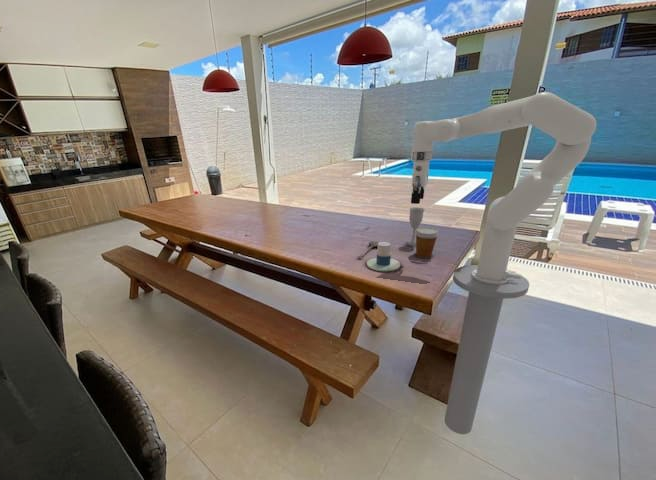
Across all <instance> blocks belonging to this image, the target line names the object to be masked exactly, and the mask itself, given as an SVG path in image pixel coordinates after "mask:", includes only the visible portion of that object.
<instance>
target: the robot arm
mask: <svg viewBox="0 0 656 480" xmlns="http://www.w3.org/2000/svg"><path fill="white" fill-rule="evenodd" d="M530 126H533V127H535V128H536V129H538V130H540V131H541V132H543V133H545V134H546V135H548V136H549V137H552V138H553V139H555V145H554V146H553V148H552V150H551V151H550V152H549V153H548V154H547V155H545V157H544V158H543V159H541V161H540V162H538V163H537V164H536V165H535V166H534V167H533V168H532V169H530V170H529V171H528V172H527V173H526V174H525V175H523V176H521V177H520V179H518V181H517V182H516V186H514V188H513V189H511V190H510V191H509V192H508V193H507V194H506V195H504V196H499V197H498V198H496V199H494V200H493V201H492V202H491V203H490V205H489V207H488V210H487V217H486V223H485V229H484V233H483V237H482V242H481V246H480V247H481V248H480V253H479V257H478V262H477V263H478V264H477V265H478V267H477V270H474V271H473V272H472V277H473V278H474V279H475V280H477V281H480V282H483V283H486V284H493V285H501V284H506V283H508V282H509V278H510V277H511V278H516V279H520V276H522V274H521V273H518V272H517V271H514V270H510V269H508V265H509V261H510V256H511V252H512V248H513V244H514V240H515V236H516V232H517V228H518V225H519V224H520V223H522V222H523V221H524V220H525V219H527V218H528V217H530V215H532V214H533V213H535V212H536V211H537V210H538V209H539V208H541V207H542V206H543V205H544V204H545V203H547V202H548V200H549V199H550V198H551V197H552V195H553V193H554V189H555V188H554V187H555V186H556V185H558V183H560V182H561V181H562V180H563V179H565V178H566V177H567V176H568V175H569V174H571V172H573V170H575V169H576V168H577V167H578V166H579V165H580V164H581V163H582V162H583V160H584V159H585V158H586V156H587V154H588V151H589V149H590V146H591V142H592V136H594V134H595V132H596V130H597V126H598V124H597V120H596V118H595V116H594V115H592V114H591V113H589V112H588V111H585V110H584V109H581V108H580V107H578V106H576V105H575V104H572V103H570V102H569V101H567V100H565V99H564V98H561V97H559V96H558V95H556V94H554V93H552V92H550V91H542V92H541V91H540V92H537V93H536V94H533V95H530V96H527V97H523V98H518V99H514V100H510V101H506V102H503V103H498V104H495V105H491V106H488V107H486V108H484V109H482V110H479V111H476V112H473V113H470V114H466V115H463V116H458V117H454V118H445V119H439V120H423V121H417V122H416V123H415V124H414V127H413V136H412V147H411V158H410V159H411V160H410V161H411V162H413V166H412V176H411V187H412V191H411V197H410V204H413V205H418V204H421V200H423V199H424V197H425V188H426V187H427V186H428V183H429V173H430V161H433V156H434V146H435V142H439V143H447V142H450V141H454V140H459V139H464V138H468V137H472V136H480V135H491V134H496V133H500V132H505V131H510V130H514V129H518V128H523V127H524V128H525V127H530ZM509 270H510V271H509ZM517 273H518V274H517Z"/></svg>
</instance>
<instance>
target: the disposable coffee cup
mask: <svg viewBox="0 0 656 480" xmlns="http://www.w3.org/2000/svg"><path fill="white" fill-rule="evenodd" d="M438 236H439V231H438V229H436V228H433V227H427V226H426V227H425V226H424V227H423V226H422V227H418V228H416V229H415V240H416V245H415V251H416V252H415V255H416V256H417V257H419V258H423V259H425V258H427V259H428V258H431V257H432V255H433V254H432V253H433V251H434V248H435V245H436V241H437V238H438Z"/></svg>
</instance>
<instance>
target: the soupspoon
mask: <svg viewBox="0 0 656 480" xmlns="http://www.w3.org/2000/svg"><path fill="white" fill-rule="evenodd" d="M379 242H380V241H376V240H372V241H369V242H368V245H369V247H367V249H366V250H365V251H364V252H363V253H361V254H360V255H358V256H357V259H358V260H362V257H363V256H365V254H366V253H367V252H368V251H370V250H371V249H372V248H374V247H378V243H379Z"/></svg>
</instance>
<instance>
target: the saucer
mask: <svg viewBox="0 0 656 480" xmlns="http://www.w3.org/2000/svg"><path fill="white" fill-rule="evenodd" d="M376 260H377V257H371V258H369V259H368V260H367V261H366V267H367V268H369V269H371V270H373V271H377V272H394V271H397V270H398V269H400V268H401V262H400V261H398V260H396V259H395V258H392V257H391V260H390V265H387V266H381V265H378V264H377V263H376Z"/></svg>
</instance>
